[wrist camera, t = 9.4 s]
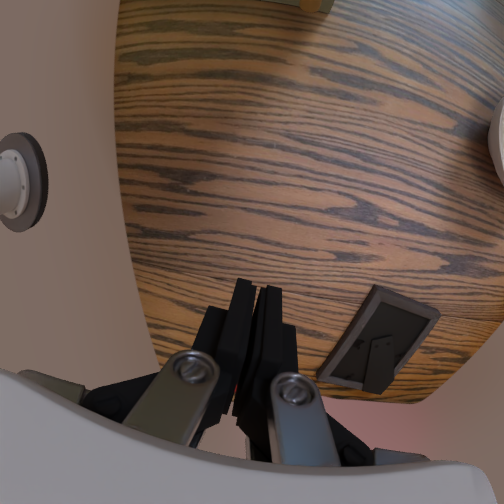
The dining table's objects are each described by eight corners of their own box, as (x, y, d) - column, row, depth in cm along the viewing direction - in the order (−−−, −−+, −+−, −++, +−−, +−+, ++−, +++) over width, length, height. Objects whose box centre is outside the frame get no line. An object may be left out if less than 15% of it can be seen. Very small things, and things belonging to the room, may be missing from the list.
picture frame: (378, 387, 43) (437, 309, 36) (380, 394, 41) (442, 316, 34) (315, 373, 42) (374, 284, 36) (316, 382, 40) (378, 291, 34)
